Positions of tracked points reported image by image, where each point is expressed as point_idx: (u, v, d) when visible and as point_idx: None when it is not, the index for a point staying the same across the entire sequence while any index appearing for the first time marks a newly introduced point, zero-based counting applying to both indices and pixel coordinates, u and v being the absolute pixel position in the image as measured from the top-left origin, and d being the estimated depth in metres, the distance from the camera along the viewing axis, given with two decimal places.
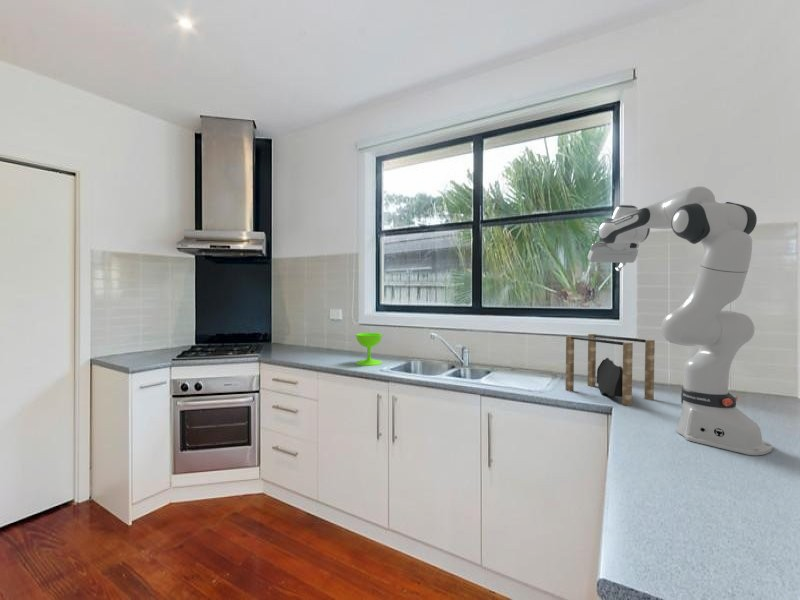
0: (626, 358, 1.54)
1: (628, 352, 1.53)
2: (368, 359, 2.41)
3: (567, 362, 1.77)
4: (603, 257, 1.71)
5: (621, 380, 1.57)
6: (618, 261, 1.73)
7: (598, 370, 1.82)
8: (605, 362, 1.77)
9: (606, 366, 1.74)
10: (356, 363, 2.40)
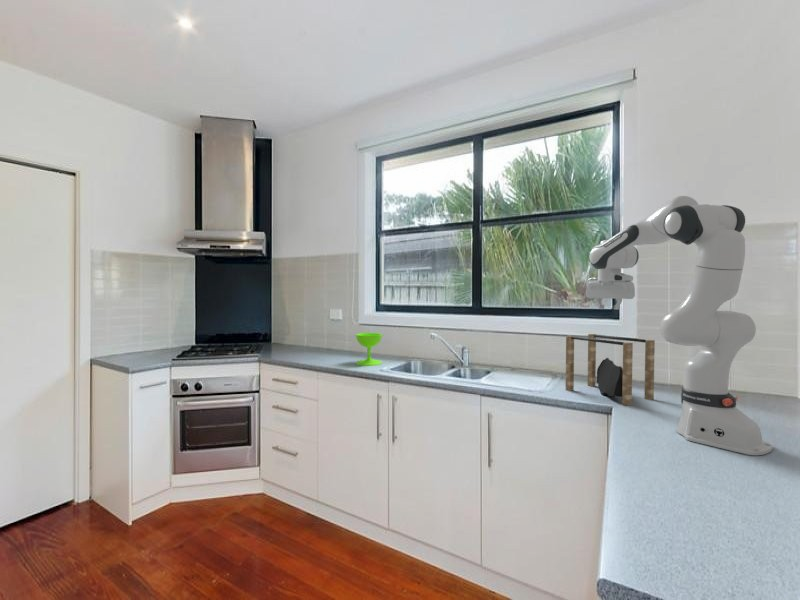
0: (626, 358, 1.54)
1: (628, 352, 1.53)
2: (368, 359, 2.41)
3: (567, 362, 1.77)
4: (596, 292, 1.72)
5: (621, 380, 1.57)
6: (612, 297, 1.66)
7: (597, 370, 1.82)
8: (605, 362, 1.77)
9: (606, 366, 1.74)
10: (356, 363, 2.40)
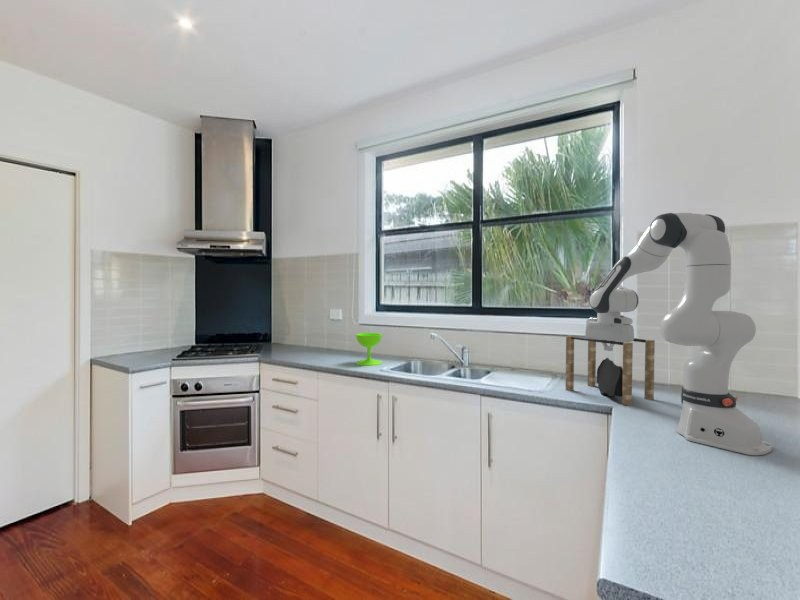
0: (626, 358, 1.54)
1: (628, 352, 1.53)
2: (368, 359, 2.41)
3: (567, 362, 1.77)
4: (595, 333, 1.73)
5: (621, 380, 1.57)
6: (611, 339, 1.67)
7: (597, 370, 1.82)
8: (605, 362, 1.77)
9: (606, 366, 1.74)
10: (356, 363, 2.40)
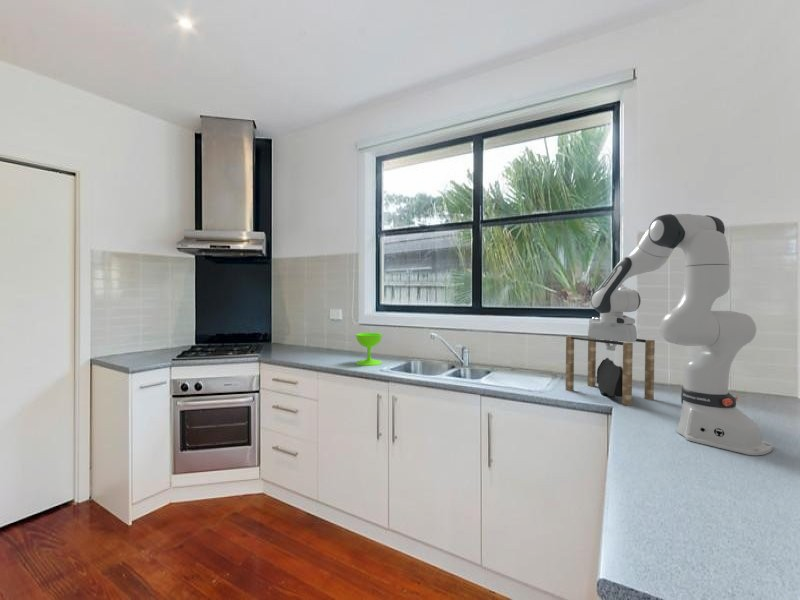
0: (626, 358, 1.54)
1: (628, 352, 1.53)
2: (368, 359, 2.41)
3: (567, 362, 1.77)
4: (598, 332, 1.74)
5: (621, 380, 1.57)
6: (614, 339, 1.68)
7: (597, 370, 1.82)
8: (605, 362, 1.77)
9: (606, 366, 1.74)
10: (356, 363, 2.40)
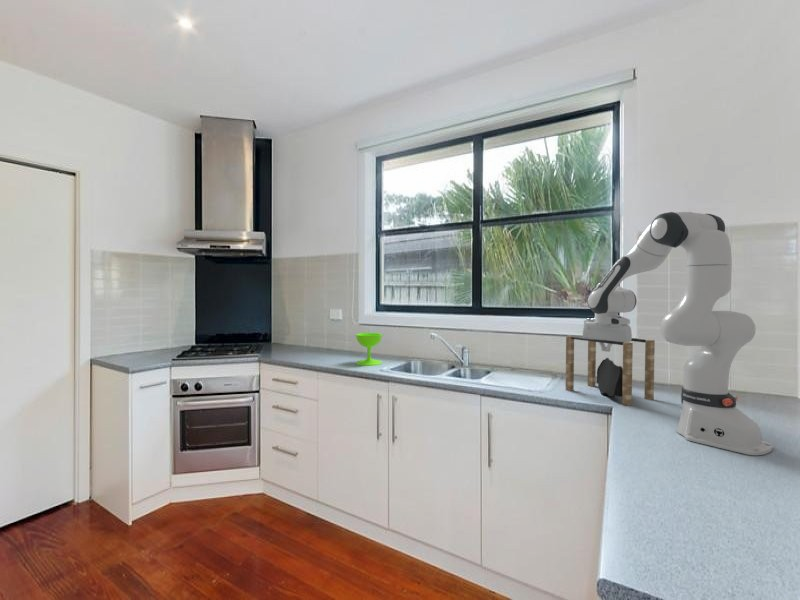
0: (626, 358, 1.54)
1: (628, 352, 1.53)
2: (368, 359, 2.41)
3: (567, 362, 1.77)
4: (593, 333, 1.72)
5: (621, 380, 1.57)
6: (609, 339, 1.66)
7: (597, 370, 1.82)
8: (605, 362, 1.77)
9: (606, 366, 1.74)
10: (356, 363, 2.40)
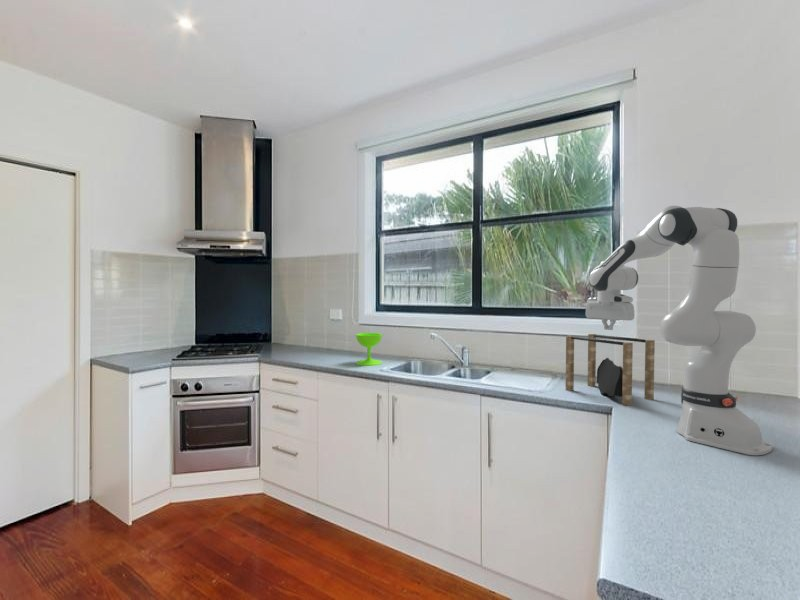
0: (626, 358, 1.54)
1: (628, 352, 1.53)
2: (368, 359, 2.41)
3: (567, 362, 1.77)
4: (596, 312, 1.73)
5: (621, 380, 1.57)
6: (611, 318, 1.66)
7: (598, 370, 1.82)
8: (605, 362, 1.77)
9: (606, 366, 1.74)
10: (356, 363, 2.40)
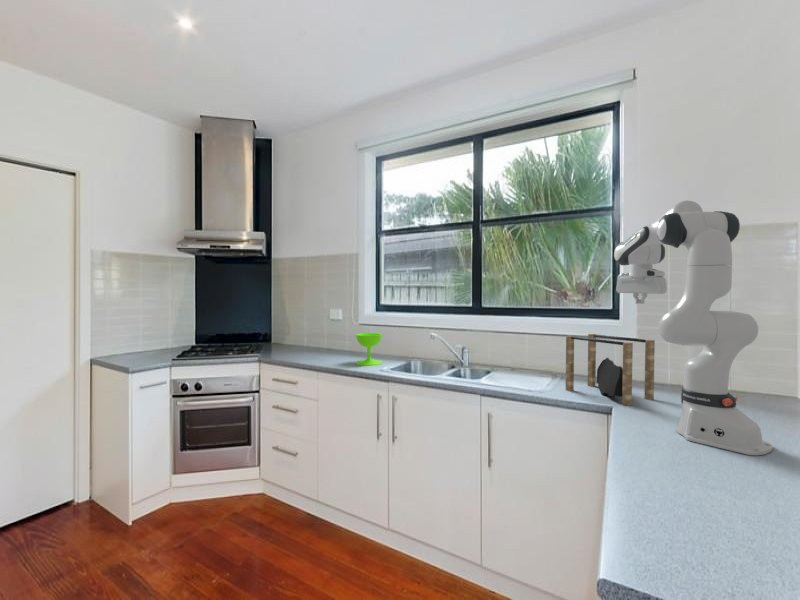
0: (626, 358, 1.54)
1: (628, 352, 1.53)
2: (368, 359, 2.41)
3: (567, 362, 1.77)
4: (627, 287, 1.78)
5: (621, 380, 1.57)
6: (644, 291, 1.72)
7: (598, 370, 1.82)
8: (605, 362, 1.77)
9: (606, 366, 1.74)
10: (356, 363, 2.40)
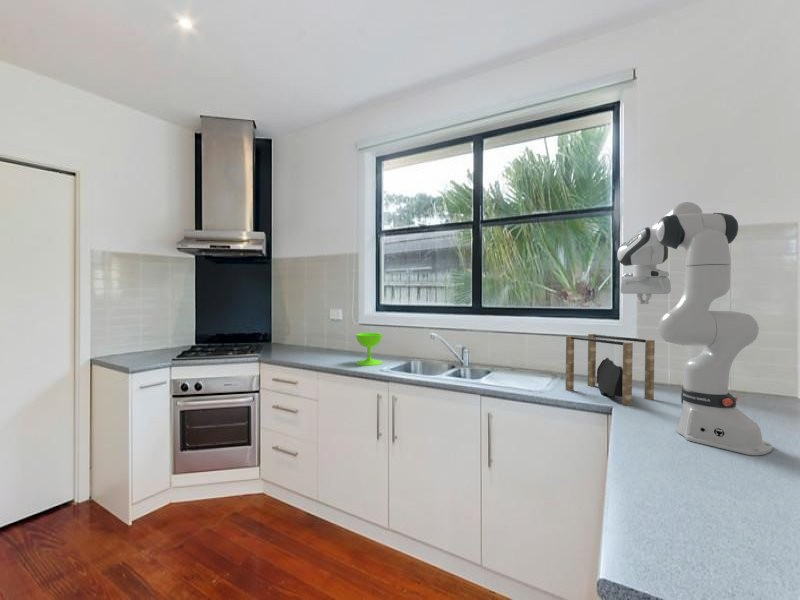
0: (626, 358, 1.54)
1: (628, 352, 1.53)
2: (368, 359, 2.41)
3: (567, 362, 1.77)
4: (631, 288, 1.79)
5: (621, 380, 1.57)
6: (648, 292, 1.73)
7: (597, 370, 1.82)
8: (605, 362, 1.77)
9: (606, 366, 1.74)
10: (356, 363, 2.40)
